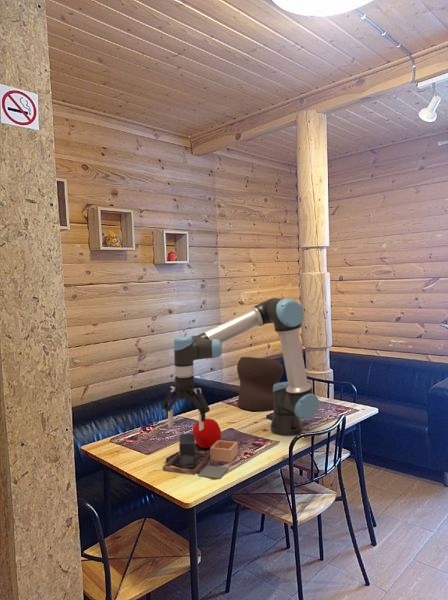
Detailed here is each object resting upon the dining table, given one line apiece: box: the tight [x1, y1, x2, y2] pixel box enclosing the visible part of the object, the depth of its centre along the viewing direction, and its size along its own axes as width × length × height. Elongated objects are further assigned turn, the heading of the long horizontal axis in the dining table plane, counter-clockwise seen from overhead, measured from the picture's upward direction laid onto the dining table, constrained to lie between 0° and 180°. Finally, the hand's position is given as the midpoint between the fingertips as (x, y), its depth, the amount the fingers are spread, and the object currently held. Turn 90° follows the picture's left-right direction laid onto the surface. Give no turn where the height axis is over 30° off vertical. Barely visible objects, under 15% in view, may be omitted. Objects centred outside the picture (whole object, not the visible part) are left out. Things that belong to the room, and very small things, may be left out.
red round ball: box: [192, 418, 222, 449], centre depth 197 cm, size 13×13×13 cm
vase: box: [236, 356, 285, 412], centre depth 254 cm, size 27×27×30 cm
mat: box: [197, 464, 229, 480], centre depth 170 cm, size 9×9×1 cm
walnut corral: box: [162, 450, 211, 476], centre depth 179 cm, size 14×18×2 cm
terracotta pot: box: [209, 439, 239, 463], centre depth 184 cm, size 9×9×5 cm
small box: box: [178, 432, 197, 470], centre depth 178 cm, size 11×6×10 cm, turn 5°
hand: (186, 427), depth 178 cm, fingers open, 13 cm apart
